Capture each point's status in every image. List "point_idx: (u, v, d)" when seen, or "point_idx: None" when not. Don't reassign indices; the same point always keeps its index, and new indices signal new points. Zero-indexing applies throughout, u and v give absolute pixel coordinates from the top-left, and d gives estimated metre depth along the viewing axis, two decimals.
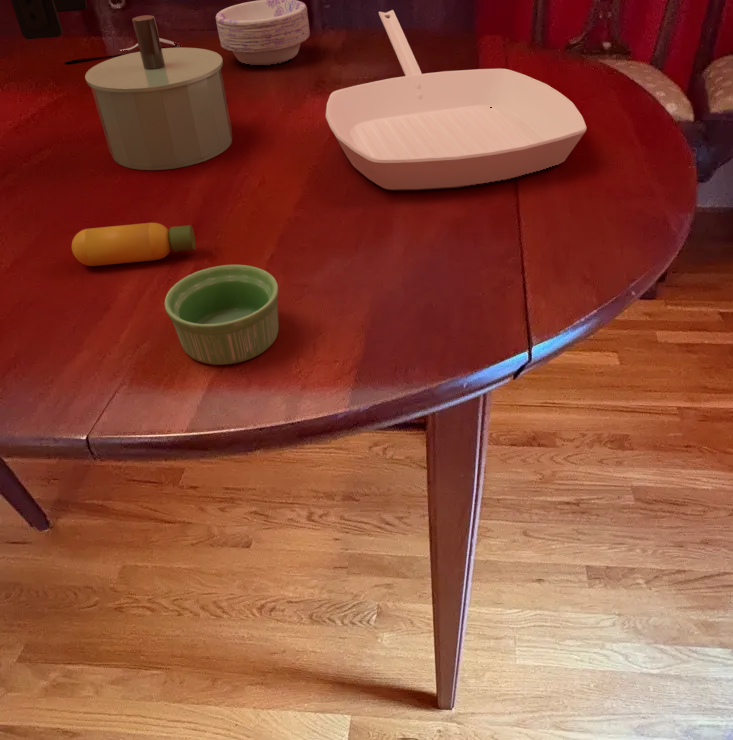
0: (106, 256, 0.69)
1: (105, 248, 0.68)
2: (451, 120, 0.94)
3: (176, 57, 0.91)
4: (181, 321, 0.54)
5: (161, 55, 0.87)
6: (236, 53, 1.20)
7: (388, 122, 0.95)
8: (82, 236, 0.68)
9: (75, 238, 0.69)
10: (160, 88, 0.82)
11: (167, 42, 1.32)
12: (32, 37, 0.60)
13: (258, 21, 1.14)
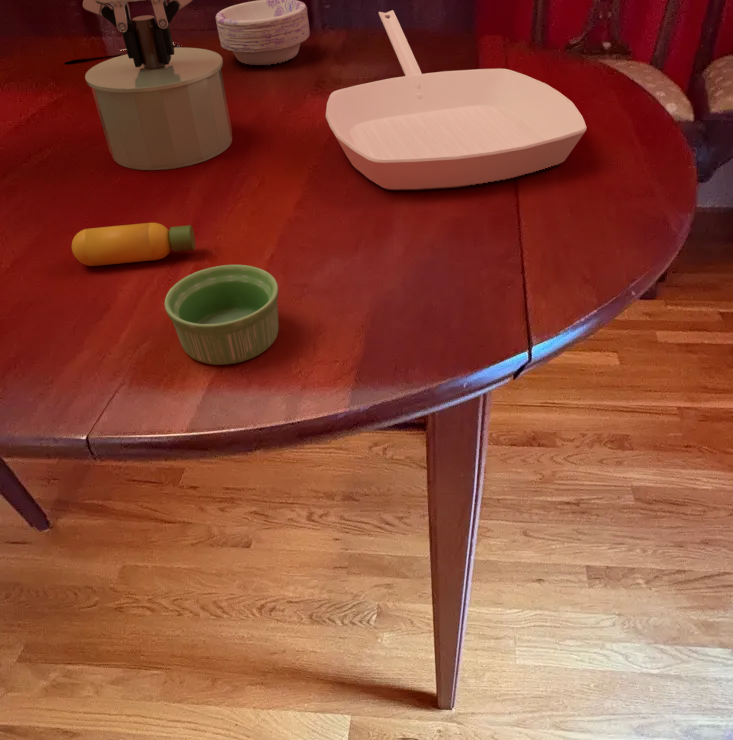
0: (106, 256, 0.69)
1: (105, 248, 0.68)
2: (451, 120, 0.94)
3: (176, 57, 0.91)
4: (181, 321, 0.54)
5: None
6: (236, 53, 1.20)
7: (388, 122, 0.95)
8: (82, 236, 0.68)
9: (75, 238, 0.69)
10: (160, 88, 0.82)
11: None
12: None
13: (258, 21, 1.14)
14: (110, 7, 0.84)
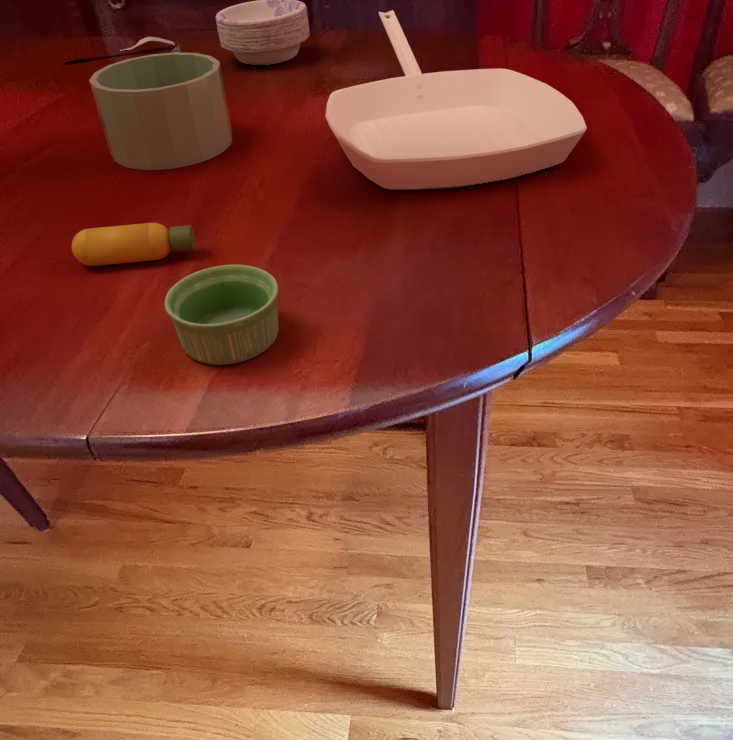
0: (106, 256, 0.69)
1: (105, 248, 0.68)
2: (451, 120, 0.94)
3: None
4: (181, 321, 0.54)
5: None
6: (236, 53, 1.20)
7: (388, 122, 0.95)
8: (82, 236, 0.68)
9: (75, 238, 0.69)
10: None
11: (167, 42, 1.32)
12: None
13: (258, 20, 1.14)
14: None
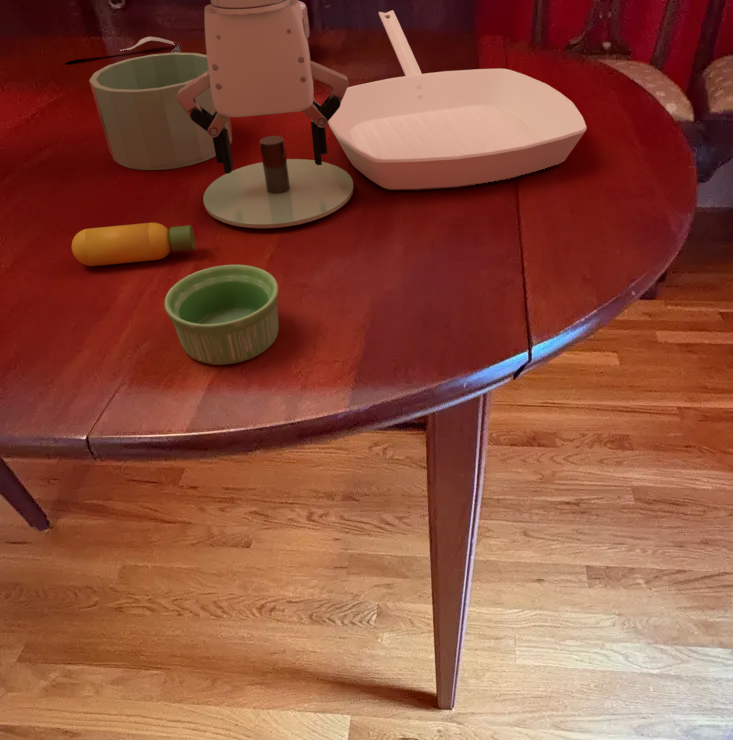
0: (106, 256, 0.69)
1: (105, 248, 0.68)
2: (451, 120, 0.94)
3: (298, 174, 0.82)
4: (181, 321, 0.54)
5: (287, 178, 0.79)
6: None
7: (388, 122, 0.95)
8: (82, 236, 0.68)
9: (75, 238, 0.69)
10: (294, 223, 0.74)
11: (167, 42, 1.32)
12: None
13: None
14: (200, 109, 0.74)
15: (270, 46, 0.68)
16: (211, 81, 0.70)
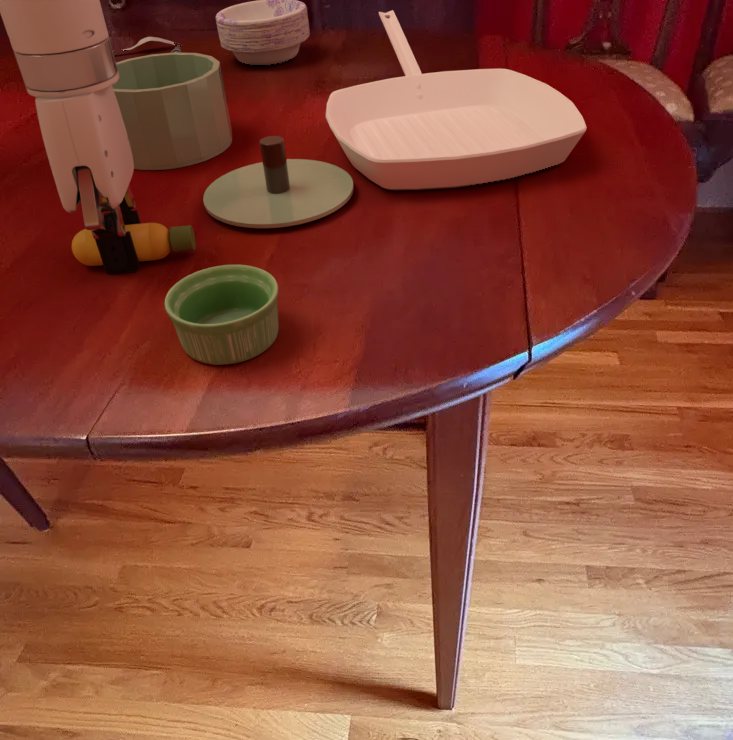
0: None
1: None
2: (451, 120, 0.94)
3: (298, 174, 0.82)
4: (181, 321, 0.54)
5: (287, 178, 0.79)
6: (236, 53, 1.20)
7: (388, 122, 0.95)
8: (82, 236, 0.68)
9: (75, 238, 0.69)
10: (294, 223, 0.74)
11: (167, 42, 1.32)
12: (113, 272, 0.69)
13: (258, 21, 1.14)
14: None
15: (116, 112, 0.64)
16: (106, 172, 0.61)
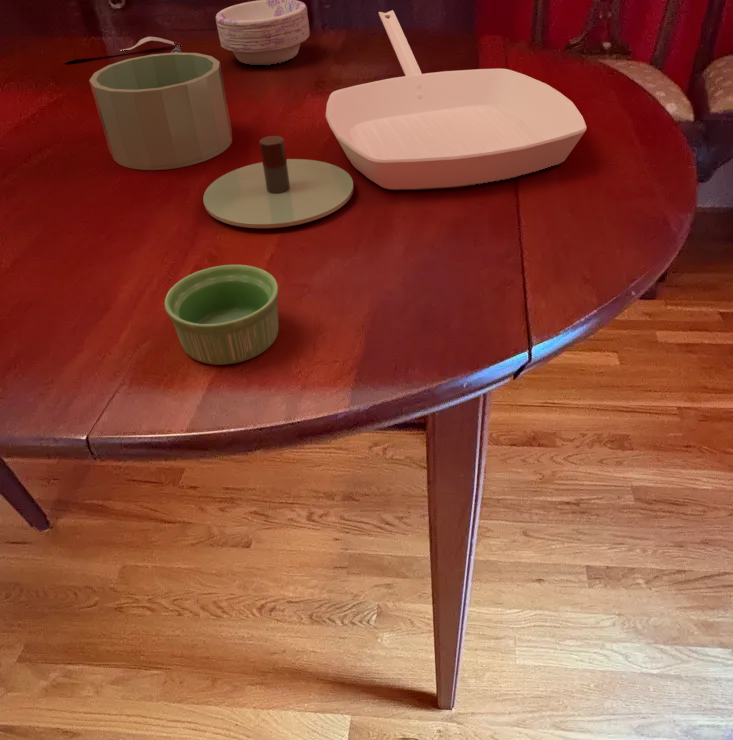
0: None
1: None
2: (451, 120, 0.94)
3: (298, 174, 0.82)
4: (181, 321, 0.54)
5: (287, 178, 0.79)
6: (236, 53, 1.20)
7: (388, 122, 0.95)
8: None
9: None
10: (294, 223, 0.74)
11: (167, 42, 1.32)
12: None
13: (258, 21, 1.14)
14: None
15: None
16: None
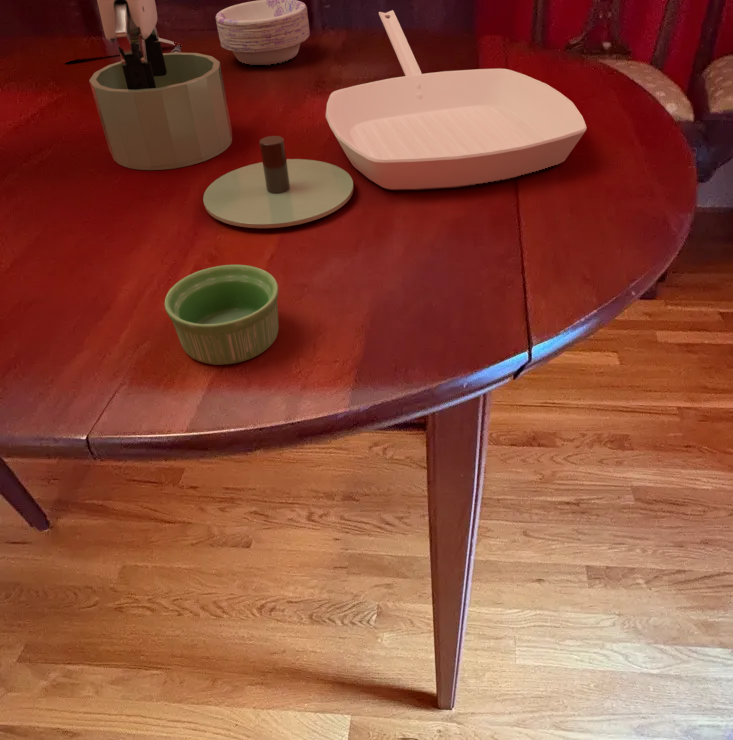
0: None
1: None
2: (451, 120, 0.94)
3: (298, 174, 0.82)
4: (181, 321, 0.54)
5: (287, 178, 0.79)
6: (236, 53, 1.20)
7: (388, 122, 0.95)
8: None
9: None
10: (294, 223, 0.74)
11: (167, 42, 1.32)
12: None
13: (258, 21, 1.14)
14: None
15: None
16: (139, 6, 0.80)
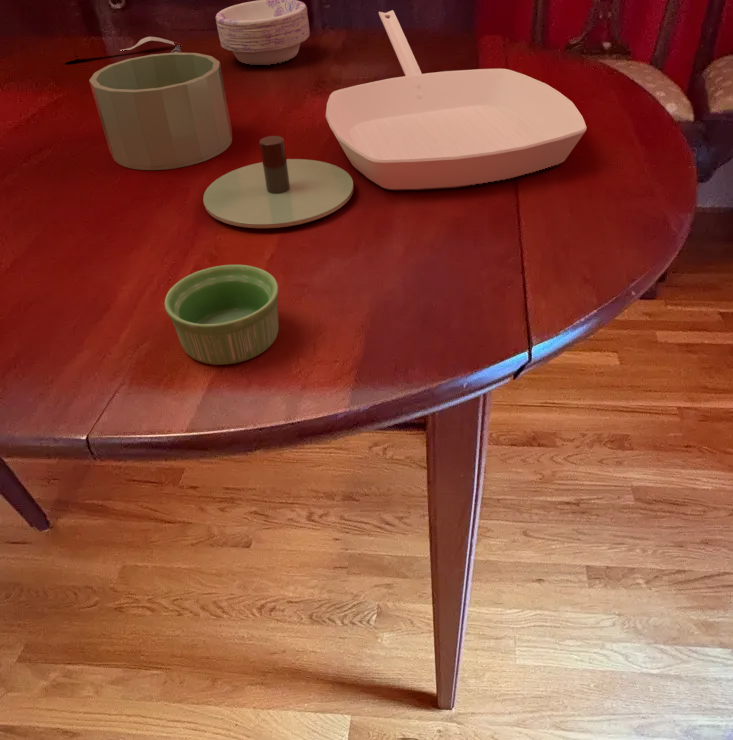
0: None
1: None
2: (451, 120, 0.94)
3: (298, 174, 0.82)
4: (181, 321, 0.54)
5: (287, 178, 0.79)
6: (236, 53, 1.20)
7: (388, 122, 0.95)
8: None
9: None
10: (294, 223, 0.74)
11: (167, 42, 1.32)
12: None
13: (258, 21, 1.14)
14: None
15: None
16: None
